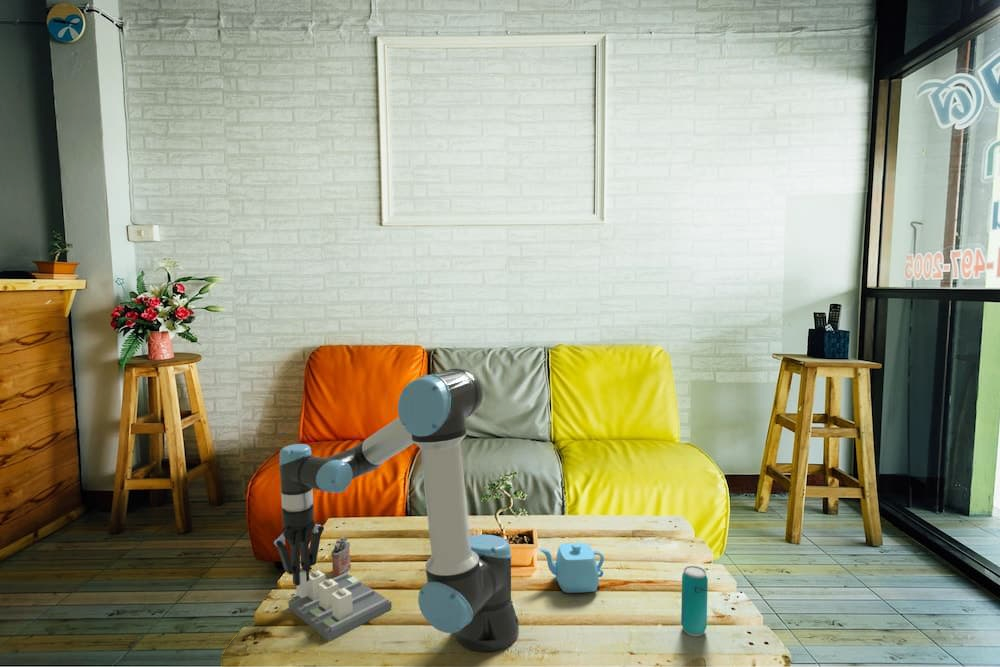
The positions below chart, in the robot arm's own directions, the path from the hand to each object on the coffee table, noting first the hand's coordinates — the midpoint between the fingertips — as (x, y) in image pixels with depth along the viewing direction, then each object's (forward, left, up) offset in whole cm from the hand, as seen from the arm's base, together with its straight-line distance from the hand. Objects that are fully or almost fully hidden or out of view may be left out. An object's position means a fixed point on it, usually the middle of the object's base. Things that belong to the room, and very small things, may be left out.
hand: (301, 594), depth 146 cm
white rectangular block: (-6, -4, -2) cm, 8 cm away
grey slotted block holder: (-6, -7, -4) cm, 10 cm away
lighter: (+10, -17, -5) cm, 20 cm away
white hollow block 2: (-13, -4, -2) cm, 14 cm away
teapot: (-43, -57, -5) cm, 72 cm away
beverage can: (-77, -60, -5) cm, 98 cm away
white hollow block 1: (0, -4, -2) cm, 4 cm away
